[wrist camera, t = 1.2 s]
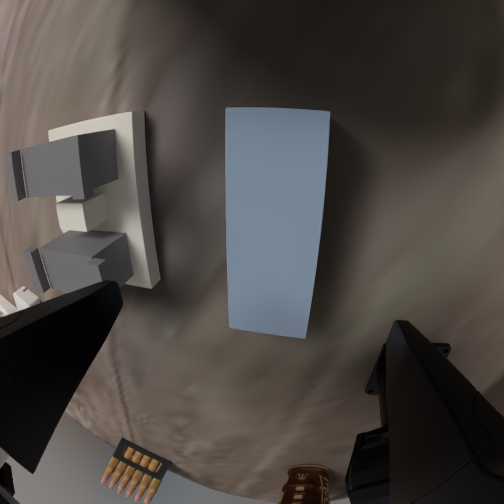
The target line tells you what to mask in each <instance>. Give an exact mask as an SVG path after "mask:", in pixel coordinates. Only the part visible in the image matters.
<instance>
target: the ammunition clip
mask: <svg viewBox="0 0 504 504" xmlns="http://www.w3.org/2000/svg"><path fill="white" fill-rule="evenodd" d="M126 449H127V450H126ZM125 451H126V452H125ZM124 453H125V454H124ZM134 453H135V454H134ZM133 455H134V456H133ZM132 457H133V458H132ZM142 457H143V458H142ZM141 459H142V460H141ZM140 461H141V462H140ZM150 461H151V462H150ZM119 462H120V463H119ZM139 463H140V464H139ZM149 463H150V464H149ZM170 463H171V461H169V460H167V459H165V458H162V457H160V456H158V455H156V454H154V453H152V452H150V451H148V450H146V449H144V448H142V447H140V446H138V445H136V444H134V443H132V442H130V441H128V440H126V439H124V438H122V439H121V440H120V442H119V444H118V446H117V448H116V450H115V452H114V454H113V457H112V459H111V460H110V462H109V464H108V466H107V469H106V471H105V473H104V475H103V477H102V480H101V485H103V484H104V483H106V481H107V480H108V479H109V477H110V476H111V474H112V473H113V472H114V470H115V469H116V470H115V473H114V475H113V478H112V480H111V482H110V486H109V489H110V490H111V489H112V488H113V487H114V486H115V485H116V484H117V482H118V480H119V479H120V477H121V476H122V475H123V473H124V471H125V470H126V471H125V473H124V475H123V478H122V480H121V483H120V485H119V488H118V494H120V493H121V492H122V491H123V490H124V488H125V487H126V485H127V484H128V482H129V481H130V479H131V478H132V479H131V483H130V485H129V488H128V490H127V493H126V498H129V497H130V496H131V495H132V493H133V492H134V490H135V489H136V487H137V485H138V484H139V483H140V481H141V479H142V477H143V475H144V477H143V479H142V481H141V483H140V486H139V489H138V491H137V494H136V497H135V503H137V502H138V501H139V500H140V499H141V497H142V496H143V494H144V492H145V490H146V489H147V488H148V486H149V484H150V482H151V480H152V479H153V480H152V482H151V484H150V486H149V489H148V492H147V495H146V498H145V501H144V504H149V503H150V501H151V500H152V498H153V496H154V494H155V493H156V492H157V490H158V488H159V486H160V483H161V481H162V479H163V477H164V475H165V473H166V471H167V469H168V467H169V465H170ZM118 464H119V465H118ZM159 464H160V465H159ZM117 465H118V466H117ZM148 465H149V466H148ZM127 466H128V467H127ZM158 466H159V467H158ZM116 467H117V468H116ZM147 467H148V468H147ZM126 468H127V469H126ZM157 468H158V469H157ZM156 470H157V472H156ZM135 471H136V472H135ZM134 472H135V473H134ZM155 472H156V473H155ZM133 474H134V475H133ZM132 476H133V477H132Z"/></svg>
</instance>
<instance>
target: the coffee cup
mask: <svg viewBox="0 0 504 504" xmlns="http://www.w3.org/2000/svg"><path fill="white" fill-rule="evenodd" d="M329 473H330V471H329V469H328V468H327V467H325V466H322V465H309V464H308V465H297V466H293V467H291V468H290V469H289V470H288V476H289V479H288V481H287V483H286V484H285V485H284V486H283V489H282V492H281V494H280V498H279V501H278V504H330V501H329V479H328V475H329Z"/></svg>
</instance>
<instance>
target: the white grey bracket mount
mask: <svg viewBox="0 0 504 504" xmlns="http://www.w3.org/2000/svg"><path fill="white" fill-rule="evenodd" d="M21 151H22V161H23V169H24V176H25V183H26V189H27V195H28V197H41V196H56V200H57V203H56V209H57V214H58V219H59V224H60V228H61V229H62V230H63V234H62V235H60V236H59V237H57V238H55V239H54V240H52V241H50V242H49V243H47V244H46V245H44V246H42V247H41V248H39V249H40V252H41V256H42V259H43V263H44V266H45V269H46V272H47V275H48V278H49V281H50V284H51V287H52V289H56V290H59V291H62V292H65V293H70V292H72V291H75V290H78V289H81V288H84V287H87V286H89V285H92V284H95V283H98V282H101V281H104V280H113V281H116V282H117V283H118V284H119V288H121V287H122V286H123V285H124V284H128V285H134V286H139V287H144V288H149V289H152V288H153V287H154V286H155V285H156V284H157V283H158V282H159V281H160V279H161V278H160V272H159V266H158V259H157V253H156V246H155V238H154V231H153V223H152V214H151V205H150V196H149V185H148V173H147V159H146V143H145V118H144V111H132V112H126V113H120V114H115V115H110V116H105V117H100V118H95V119H91V120H87V121H82V122H78V123H74V124H70V125H66V126H63V127H59V128H56V129H52V130H49V142H46V143H43V144H39V145H35V146H32V147H28V148H25V149H21ZM5 155H6V164H7V172H8V179H9V186H10V192H11V197H12V201H19V200H21V199H23V198H26V193H25V187H24V181H23V174H22V166H21V157H20V150H18V151H14V152H11V153H8V154H5ZM24 252H25V255H26V259H27V262H28V265H29V268H30V271H31V274H32V277H33V280H34V283H35V286H36V289H37V291H40V292H43V293H44V292H46V291H47V290H48V289H49V288H50V286H49V283H48V280H47V277H46V274H45V271H44V268H43V264H42V261H41V258H40V254H39V251H38V248H35V247H30V248H29V249H27V250H26V251H24Z"/></svg>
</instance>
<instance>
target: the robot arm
mask: <svg viewBox="0 0 504 504" xmlns="http://www.w3.org/2000/svg"><path fill="white" fill-rule="evenodd" d="M122 306H123V299H122V296H121V292H120V288H119V284H118V283H117V282H116V281H113V280H104V281H101V282H98V283H95V284H92V285H89V286H87V287H84V288H81V289H78V290H75V291H72V292H70V293H67V294H64V295H61V296H58V297H56V298H53V299H50V300H47V301H45V302H42V303H39V304H36V305H34V306H31V307H28V308H26V309H25V310H24V309H23V310H20V311H17V312H15V313H12V314H9V315H6V316H3V317H0V504H20V503H19V502H18V501H17V500H15V499H14V498H13V495H14V494H15V491H14V485H13V478H12V471H11V466H10V465H9V464H8V463H7V462H6V460H7V459H8V457H9V456H11V457H12V458H13V459H14V460H15V461H17V462H18V463H19V464H20V465H22V466H23V467H24V468H25V469H27V470H28V471H29V472H30V473H32V474H33V473H34V472H35V470H36V468H37V466H38V464H39V462H40V459H41V457H42V455H43V453H44V451H45V449H46V447H47V445H48V442H49V441H50V439H51V436H52V434H53V432H54V430H55V428H56V426H57V424H58V422H59V420H60V418H61V417H62V415H63V413H64V411H65V409H66V407H67V405H68V404H69V402H70V400H71V398H72V396H73V395H74V393H75V391H76V389H77V387H78V386H79V384H80V382H81V380H82V379H83V377H84V375H85V374H86V372H87V370H88V368H89V367H90V365H91V363H92V362H93V360H94V358H95V357H96V355H97V353H98V352H99V350H100V348H101V347H102V345H103V343H104V342H105V340H106V338H107V336H108V334H109V332H110V330H111V328H112V326H113V324H114V322H115V320H116V318H117V316H118V314H119V312H120V310H121V309H122ZM450 351H451V347H450V345H449V344H447V343H431V342H430V341H429V340H428V339H427V338H426V337H425V336H424V335H422V334H421V333H420V332H419V331H418V330H417V329H416V328H415V327H414V326H413V325H412V324H411V323H410V322H409V321H407V320H396V321H394V323H393V325H392V328H391V331H390V334H389V336H388V339H387V342H386V343H385V344H384V345H383V347H382V350H381V352H380V355H379V357H378V360H377V362H376V365H375V367H374V370H373V372H372V374H371V377H370V379H369V381H368V384H367V386H366V388H365V392H366V394H369V395H379V403H380V416H381V427H380V428H377V429H375V430H372V431H369V432H366V433H365V432H363V433H360V434H357V437H356V441H355V445H354V449H353V453H352V456H351V460H350V463H349V467H348V470H347V474H346V477H345V483H346V489H347V493H348V497H349V499H350V502H351V504H504V417H503V416H502V415H501V414H500V413H499V412H498V411H497V410H496V409H495V408H494V407H493V406H492V405H491V404H490V403H489V402H488V401H487V400H486V399H485V398H484V397H483V395H482V394H481V393H480V392H479V391H478V390H477V391H476V388H475V387H474V386H473V385H472V384H471V383H470V382H469V381H468V380H467V379H466V378H465V377H464V375H463V374H462V373H461V372H460V371H459V370H458V369H457V368H456V367H455V366H454V365H453V364H452V363H451V362H450V361H449V360H448V359H447V357H448V355H449V353H450Z"/></svg>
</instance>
